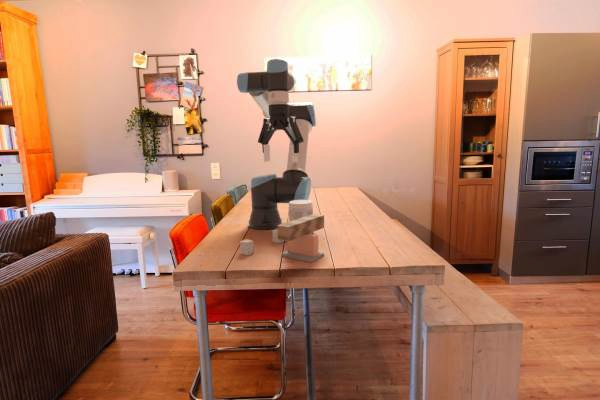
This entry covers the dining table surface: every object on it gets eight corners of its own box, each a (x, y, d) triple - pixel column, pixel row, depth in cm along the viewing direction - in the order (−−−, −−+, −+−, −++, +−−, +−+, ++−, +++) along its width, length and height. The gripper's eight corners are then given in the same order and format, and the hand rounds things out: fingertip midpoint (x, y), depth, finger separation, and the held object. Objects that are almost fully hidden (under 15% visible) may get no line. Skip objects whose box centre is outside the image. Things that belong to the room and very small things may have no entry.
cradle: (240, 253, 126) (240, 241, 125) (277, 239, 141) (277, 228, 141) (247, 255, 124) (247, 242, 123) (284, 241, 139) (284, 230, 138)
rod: (288, 241, 111) (288, 227, 110) (277, 239, 114) (277, 225, 113) (324, 227, 127) (324, 215, 126) (313, 225, 129) (313, 213, 129)
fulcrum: (281, 255, 122) (281, 233, 121) (296, 249, 128) (295, 228, 127) (310, 262, 115) (310, 238, 114) (324, 255, 121) (323, 232, 120)
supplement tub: (306, 233, 150) (306, 198, 148) (317, 238, 142) (317, 202, 139) (285, 236, 146) (284, 200, 144) (295, 242, 138) (294, 204, 135)
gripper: (247, 106, 136) (249, 161, 140) (299, 100, 122) (301, 163, 125) (260, 106, 142) (262, 160, 146) (312, 102, 128) (313, 162, 131)
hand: (280, 162), depth 136 cm, fingers open, 13 cm apart
